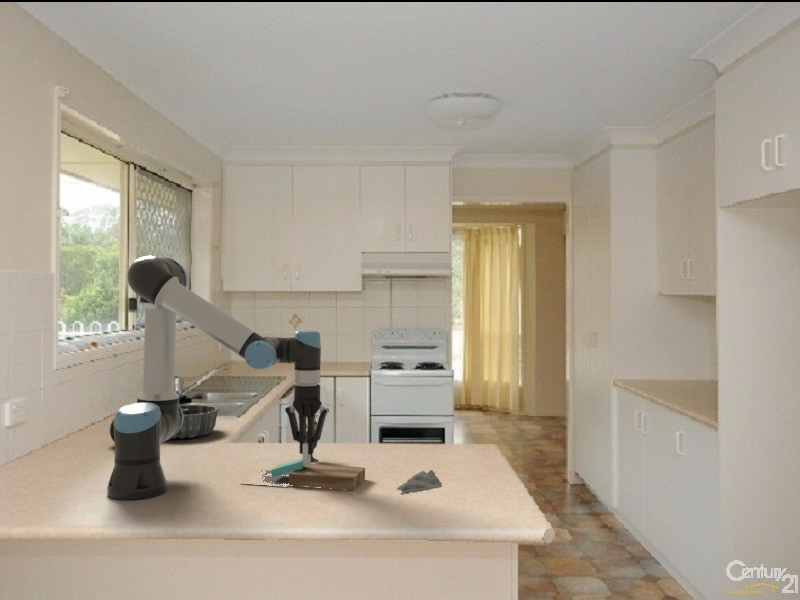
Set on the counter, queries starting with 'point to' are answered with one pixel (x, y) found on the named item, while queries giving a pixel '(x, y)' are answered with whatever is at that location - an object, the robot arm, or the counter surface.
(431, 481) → the cloth
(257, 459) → the counter surface
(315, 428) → the sundae
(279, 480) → the mat
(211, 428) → the bundt pan
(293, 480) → the brown wooden slab
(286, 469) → the rectangular block
